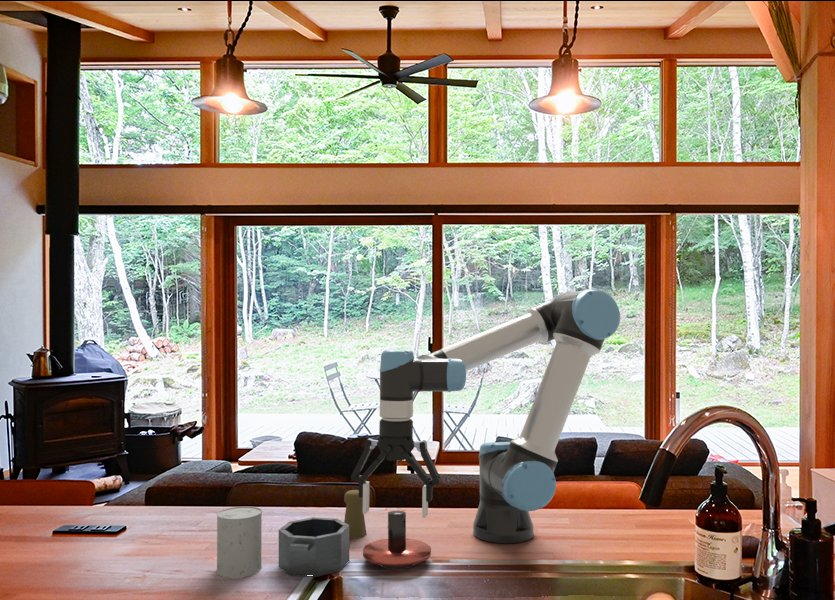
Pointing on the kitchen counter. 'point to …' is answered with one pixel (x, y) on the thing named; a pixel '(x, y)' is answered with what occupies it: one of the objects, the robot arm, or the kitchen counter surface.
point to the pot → (313, 546)
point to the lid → (397, 546)
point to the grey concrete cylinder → (239, 541)
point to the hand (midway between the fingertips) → (395, 514)
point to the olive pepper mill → (354, 514)
